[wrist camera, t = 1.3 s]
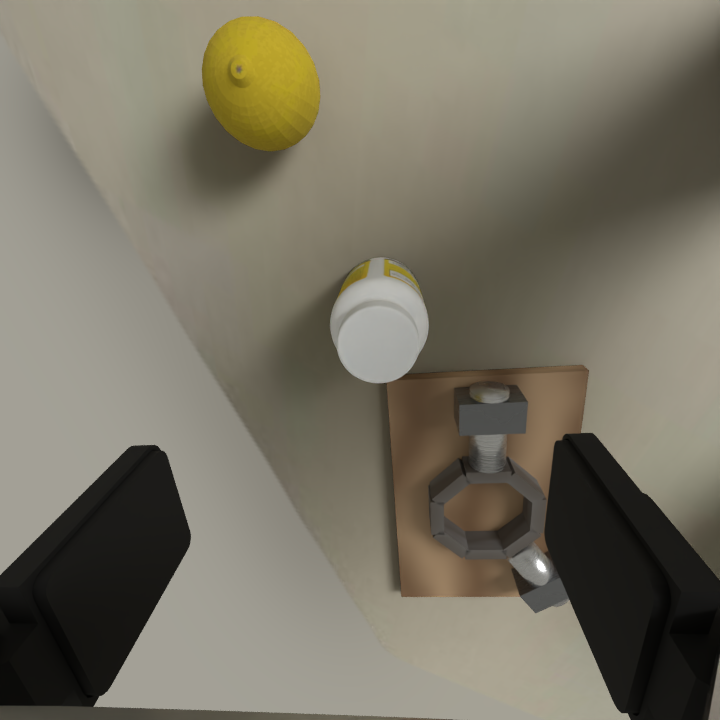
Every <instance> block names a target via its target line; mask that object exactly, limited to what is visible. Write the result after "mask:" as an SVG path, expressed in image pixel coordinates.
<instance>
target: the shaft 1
mask: <svg viewBox="0 0 720 720" xmlns="http://www.w3.org/2000/svg"><path fill="white" fill-rule="evenodd" d="M527 409H528V401H527V400H526V398H525V396H524V395H523V393H522V392H521V390H520V389H519V387H518V386H517V385H504V384H502V383H499V382H494V381H481V382H477V383H474V384H472V385H471V386H470V387H456V388H454V419H455V422H456V426H457V429H458V433H459V436H469V464H470V466H471V467H472V468H473V469H475V470H477V471H479V472H482V473H497V472H500V471H502V470H503V469H504V468H505V465H506V447H507V434H525V433H526V423H527Z"/></svg>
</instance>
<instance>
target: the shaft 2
mask: <svg viewBox="0 0 720 720" xmlns="http://www.w3.org/2000/svg"><path fill="white" fill-rule="evenodd" d="M506 559H507V560H508V562H509V563H510V564H511V565H512V566H513V567H514V568H513V569H511V570H512V573H513V576H514V579H515V583H516V586H517V589H518V592H519V595H520V597H521V598H522V599H523V600H524V601H525V602H526V603H527V604H528V606H529V607H530V608H531V609H532V610H533V611H534V612H535V613H537V612H539V611H542V610H544V609H546V608H548V607H551V606H556V607H557V606H562V605H564V604H565V603H566V602H567V601H568V600H569V597H568V595H567V593H566V590H565V588H564V586H563V583H562V581H561V579H560V576H559V574H558V572H557V569H556V567H555V565H554V563H553V560H552V558H551V556H550V553H549V551H547V552H545V553H543V552H542V550H541V549H540V548H539V547H538V546H537V545H536V544H535V542H532V543H531V544H529V545H528V546H526V547H525V548H524V549H522V550H521V551H519V552H518V553H516V554H515V555H514V556H512V557H511V558H509V557H508V556H506Z"/></svg>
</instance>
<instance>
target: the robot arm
mask: <svg viewBox="0 0 720 720" xmlns="http://www.w3.org/2000/svg"><path fill="white" fill-rule="evenodd" d="M544 536H545V542H546V546H547V549H548V551H549V553H550V556H551V558H552V560H553V563H554V565H555V567H556V569H557V572H558V574H559V576H560V579H561V581H562V583H563V586H564V588H565V590H566V593H567V595H568V597H569V600H570V602H571V604H572V607H573V609H574V611H575V614H576V616H577V618H578V621H579V623H580V625H581V628H582V630H583V632H584V635H585V637H586V639H587V641H588V644H589V646H590V648H591V651H592V653H593V655H594V658H595V660H596V662H597V665H598V667H599V669H600V672H601V674H602V676H603V679H604V681H605V683H606V686H607V688H608V690H609V693H610V695H611V697H612V700H613V702H614V704H615V706H616V707H617V709H618V710H619V711H620V712H621V713H628V715H629V717H630V719H631V720H720V580H719V579H718V578H717V577H716V576H715V574H714V573H713V572H712V571H711V570H710V568H709V567H708V566H707V565H706V564H705V562H704V561H703V560H702V559H701V558H700V556H699V555H698V554H697V553H696V552H695V550H694V549H693V548H692V547H691V546H690V544H689V543H688V542H687V541H686V540H685V538H684V537H683V536H682V535H681V534H680V532H679V531H678V530H677V529H676V528H675V526H674V525H673V524H672V523H671V522H670V520H669V519H668V518H667V517H666V516H665V514H664V513H663V512H662V511H661V510H660V508H659V507H658V506H657V505H656V504H655V502H654V501H653V500H652V499H651V498H650V497H649V496H648V495H647V494H644V493H642V492H641V491H640V489H639V488H638V487H637V486H636V484H635V483H634V482H633V481H632V480H631V478H630V477H629V476H628V475H627V473H626V472H625V471H624V470H623V469H622V467H621V466H620V465H619V464H618V463H617V461H616V460H615V459H614V458H613V456H612V455H611V454H610V453H609V452H608V450H607V449H606V448H605V447H604V445H603V444H602V443H601V442H600V441H599V439H598V438H597V437H596V436H595V435H594V434H593V433H573V434H565V435H564V436H563V438H562V440H557V441H556V442H555V444H554V450H553V459H552V468H551V476H550V485H549V494H548V502H547V511H546V520H545V528H544ZM190 540H191V534H190V530H189V526H188V523H187V520H186V516H185V513H184V510H183V507H182V503H181V500H180V497H179V493H178V490H177V487H176V483H175V480H174V477H173V474H172V470H171V467H170V464H169V460H168V457H167V455H166V453H165V452H164V451H161V450H160V448H159V447H158V446H156V445H144V446H143V445H141V446H131V447H130V448H128V449H127V450H126V451H125V452H124V453H123V454H122V455H121V456H120V457H119V458H118V459H117V460H116V461H115V462H114V463H113V464H112V465H111V466H110V467H109V468H108V469H107V470H106V471H105V472H104V473H103V474H102V475H101V476H100V477H99V478H98V479H97V480H96V481H95V482H94V483H93V484H92V485H91V486H90V487H89V488H88V489H87V490H86V491H85V492H84V493H83V494H82V495H81V496H80V497H79V498H78V499H77V500H76V501H75V502H74V503H73V504H72V505H71V506H70V507H69V508H68V509H67V510H66V511H64V513H62V514H61V516H59V518H57V519H56V521H54V523H52V524H51V525H50V527H48V528H47V529H46V530H45V531H44V532H43V534H41V535H40V536H39V537H38V538H37V539H36V540H35V541H34V542H33V543H32V544H31V545H30V546H29V548H27V549H26V550H25V551H24V552H23V553H22V554H21V555H20V556H19V557H18V558H17V559H16V560H15V561H14V562H13V563H12V564H11V565H10V566H9V567H8V568H7V569H6V570H5V571H4V572H3V573H2V574H1V575H0V720H447V719H427V718H402V717H378V716H352V715H325V714H297V713H269V712H240V711H211V710H180V709H179V710H178V709H145V708H111V707H93V706H94V705H95V703H96V701H97V699H98V698H99V696H101V695H103V694H105V692H107V691H108V689H109V688H110V686H111V685H112V683H113V681H114V680H115V678H116V676H117V674H118V673H119V670H120V669H121V667H122V665H123V664H124V662H125V660H126V658H127V656H128V655H129V653H130V651H131V649H132V648H133V646H134V644H135V642H136V641H137V639H138V637H139V635H140V633H141V632H142V630H143V628H144V626H145V625H146V623H147V621H148V619H149V617H150V616H151V614H152V612H153V610H154V609H155V607H156V605H157V603H158V601H159V600H160V598H161V596H162V594H163V593H164V591H165V589H166V587H167V585H168V584H169V582H170V580H171V578H172V576H173V575H174V573H175V571H176V569H177V568H178V566H179V564H180V562H181V560H182V559H183V557H184V555H185V553H186V552H187V550H188V548H189V545H190ZM448 720H450V719H448Z"/></svg>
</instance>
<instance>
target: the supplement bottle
mask: <svg viewBox="0 0 720 720" xmlns="http://www.w3.org/2000/svg"><path fill="white" fill-rule="evenodd" d="M330 330H331V336H332V339H333V342H334V345H335V347H336V349H337V352H338V355H339V358H340V360H341V362H342V364H343V365H344V367H345V368H346V369H347V371H349V372H350V373H351V374H352V375H353V376H355V377H356V378H358V379H361V380H363V381H366V382H370V383H387V382H391V381H394V380H396V379H398V378H400V377H402V376H403V375H405V374H406V373H407V372H408V371H409V370H410V369H411V367H412V366H413V365H414V363H415V361H416V359H417V356H418V354H419V353H420V352H421V350H422V348H423V347H424V344H425V342H426V339H427V336H428V330H429V321H428V314H427V310H426V306H425V303H424V300H423V297H422V294H421V291H420V287H419V284H418V281H417V279H416V278H415V276H414V275H413V273H412V272H411V271H410V270H409V269H408V268H407V267H406V266H405V265H404V264H402V263H400V262H399V261H396V260H394V259H390V258H384V257H378V258H372V259H368V260H366V261H363V262H361V263H360V264H358V265H357V266H356V267H354V268H353V269H352V270H351V272H350V273H349V274H348V276H347V277H346V279H345V281H344V283H343V285H342V288H341V290H340V293H339V295H338V297H337V299H336V302H335V304H334V306H333V309H332V313H331V319H330Z"/></svg>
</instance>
